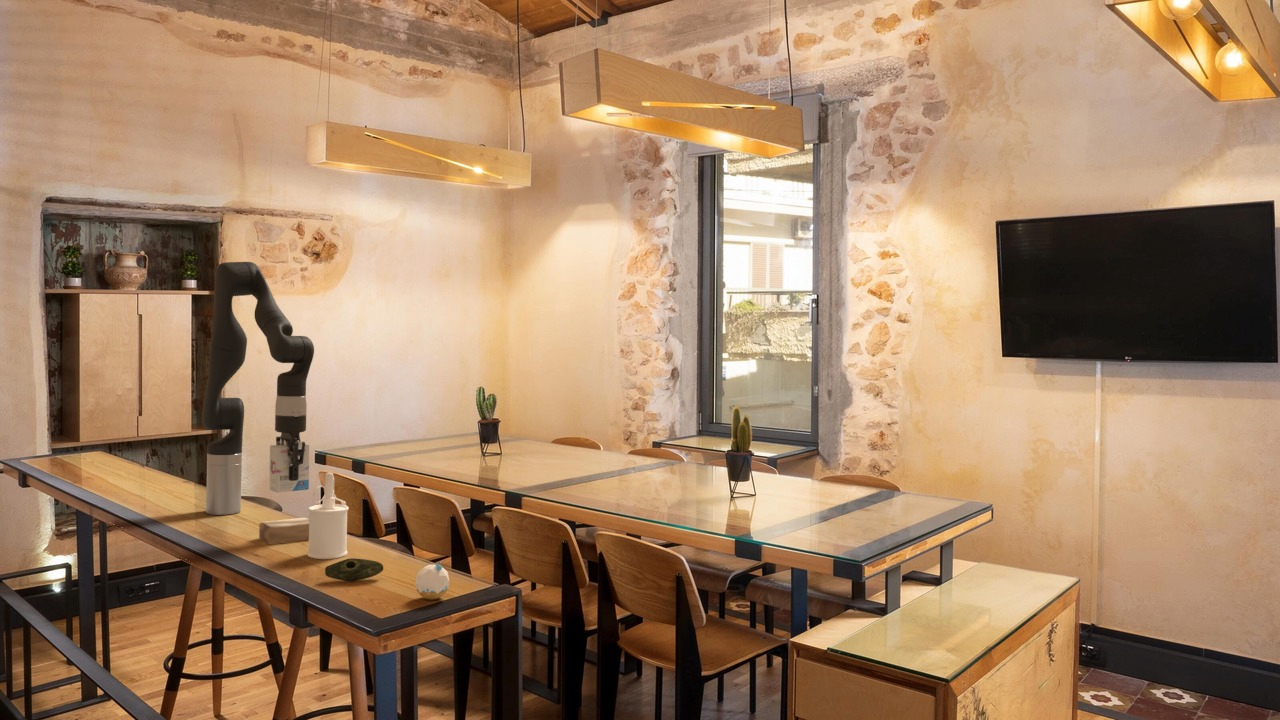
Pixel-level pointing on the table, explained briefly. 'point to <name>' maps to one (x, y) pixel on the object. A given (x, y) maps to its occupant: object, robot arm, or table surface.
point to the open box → (284, 530)
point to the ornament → (432, 581)
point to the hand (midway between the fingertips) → (289, 478)
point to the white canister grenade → (328, 524)
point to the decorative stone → (353, 569)
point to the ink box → (287, 470)
